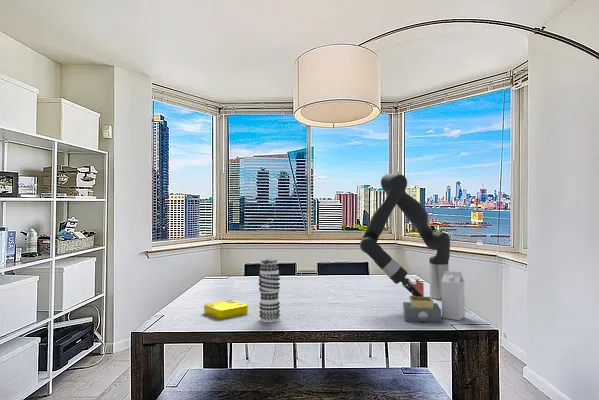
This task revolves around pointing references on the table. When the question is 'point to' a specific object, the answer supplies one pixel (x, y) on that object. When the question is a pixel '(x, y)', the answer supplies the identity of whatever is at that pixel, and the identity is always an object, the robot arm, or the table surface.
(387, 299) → the table surface
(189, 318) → the table surface
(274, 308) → the decorative candle
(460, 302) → the milk carton
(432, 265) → the robot arm
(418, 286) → the red bottle
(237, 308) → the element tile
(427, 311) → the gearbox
